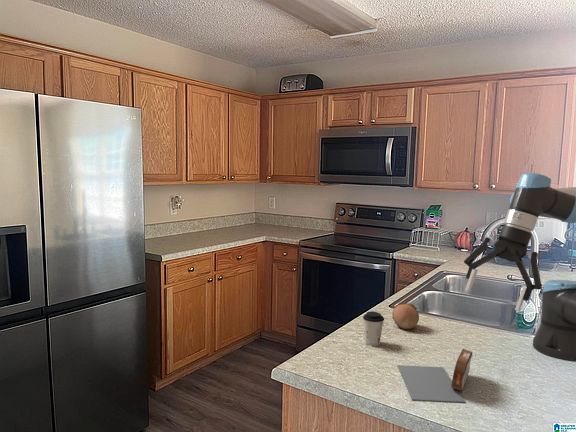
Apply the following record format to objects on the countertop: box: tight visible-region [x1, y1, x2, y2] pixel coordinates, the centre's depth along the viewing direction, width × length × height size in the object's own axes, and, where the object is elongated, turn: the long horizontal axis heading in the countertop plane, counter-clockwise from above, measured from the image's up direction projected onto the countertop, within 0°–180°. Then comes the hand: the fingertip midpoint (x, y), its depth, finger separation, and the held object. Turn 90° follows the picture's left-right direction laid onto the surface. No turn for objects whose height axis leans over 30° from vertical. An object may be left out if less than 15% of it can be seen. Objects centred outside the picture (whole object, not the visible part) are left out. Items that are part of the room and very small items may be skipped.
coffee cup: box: [362, 310, 385, 347], centre depth 142 cm, size 7×7×10 cm
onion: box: [391, 302, 420, 330], centre depth 157 cm, size 10×9×10 cm
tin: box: [451, 348, 474, 391], centre depth 115 cm, size 15×3×8 cm, turn 149°
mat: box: [397, 364, 466, 404], centre depth 116 cm, size 13×19×1 cm
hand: (491, 300), depth 120 cm, fingers open, 13 cm apart
